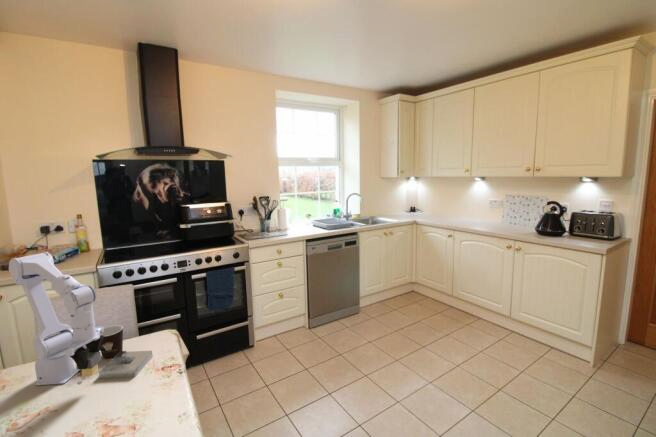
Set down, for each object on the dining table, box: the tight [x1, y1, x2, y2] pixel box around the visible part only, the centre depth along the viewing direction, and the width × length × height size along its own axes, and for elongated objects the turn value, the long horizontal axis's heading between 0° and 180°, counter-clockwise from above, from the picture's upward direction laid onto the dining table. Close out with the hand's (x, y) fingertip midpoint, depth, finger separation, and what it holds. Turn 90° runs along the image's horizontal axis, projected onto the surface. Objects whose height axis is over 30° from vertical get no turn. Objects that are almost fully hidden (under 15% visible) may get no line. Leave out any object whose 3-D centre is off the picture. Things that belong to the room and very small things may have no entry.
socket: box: [98, 350, 154, 380], centre depth 112 cm, size 12×12×3 cm
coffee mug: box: [99, 324, 124, 361], centre depth 120 cm, size 12×9×10 cm
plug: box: [75, 351, 102, 377], centre depth 100 cm, size 4×4×6 cm
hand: (88, 363), depth 100 cm, fingers closed on plug, 4 cm apart
